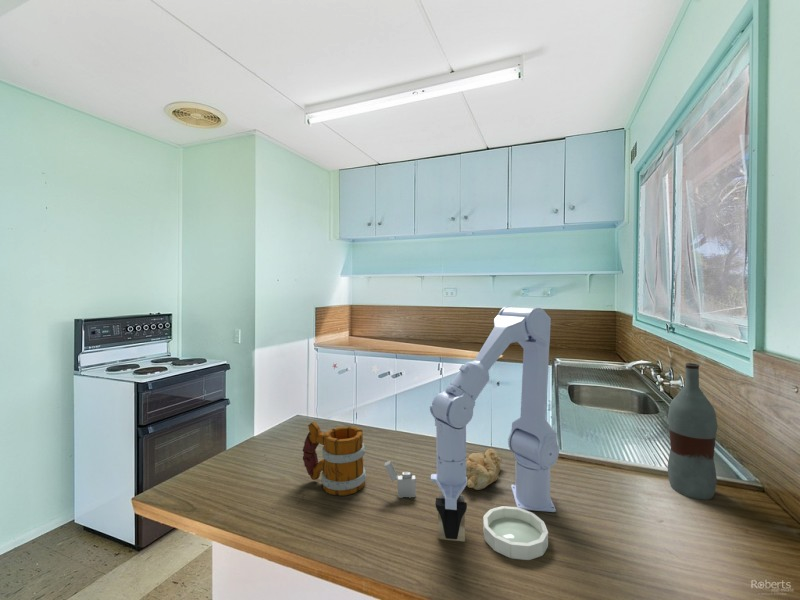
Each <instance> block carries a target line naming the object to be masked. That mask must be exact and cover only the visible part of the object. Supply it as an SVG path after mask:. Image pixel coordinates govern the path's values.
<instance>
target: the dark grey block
mask: <svg viewBox="0 0 800 600" xmlns="http://www.w3.org/2000/svg"><path fill="white" fill-rule="evenodd" d="M438 498H444V496H443V494H441V493H438ZM444 499H445V498H444ZM457 502H465V495H460V496H459V497H458V499H457ZM437 513H438V514H437V515H438V520H437V521H438V523H437V524H438V526H437V527H438V528H437V529H438V530H437V531H438V533H437V534H438V536H437V537H438V539H439V540H445V541H455V542H465V541H466V537H465V536H466V531H465V529H466V524H465V523H466V521H465V520H466V519H465V518H466V514H465V513H466V512H465V513H464V515H463V517H462V519H461V523H460V528H459V533H458V537H457V539H447V538H446V537H445V534H444V529H443V523H442V519H441V517H440V514H439V512H438V511H437Z"/></svg>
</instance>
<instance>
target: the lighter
mask: <svg viewBox="0 0 800 600" xmlns="http://www.w3.org/2000/svg"><path fill="white" fill-rule="evenodd" d="M384 468H385V470H386V472H387V474H388V476H389V478H390V479H391V482H395V481H396V480H397V498H398V499H403V497H409V498H411V497H415V498H416V489H417V488H416V480H417V479H416V475H413V474H412V473H411V472H410V471H402V474H401V475H398V473H397V472H396V469H395V467H394V465H393V463H392V461H391V460H388V461H386V462H384ZM409 498H408V499H409Z"/></svg>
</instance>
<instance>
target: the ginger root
mask: <svg viewBox="0 0 800 600" xmlns="http://www.w3.org/2000/svg"><path fill="white" fill-rule="evenodd" d="M502 462H503V458H501V457H499V452H497V451H496V450H494V449H493V448H488V449H486V451H485V452H484V453H482V452H477V453H475V452H472V453H470V454H469V455H468V456H466V477H467V485H466V486H467V487H468V488H469V489H470V488H471V489H474V490H475V491H478V490H483V489H485V488H486V487H488V486H489V485H491V484H492V483H494V482H496V481H497V480H498V479H499V477H500V475H499V473H500V472H501V464H500V463H502Z"/></svg>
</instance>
